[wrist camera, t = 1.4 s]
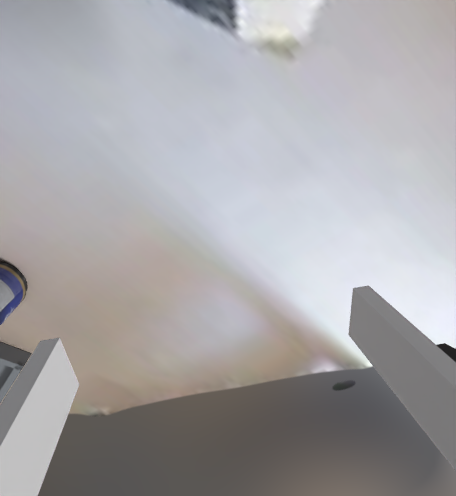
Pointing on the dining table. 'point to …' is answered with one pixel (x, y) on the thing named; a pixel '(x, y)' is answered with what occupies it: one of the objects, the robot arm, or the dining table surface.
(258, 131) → the dining table surface
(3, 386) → the tray
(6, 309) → the pill bottle
